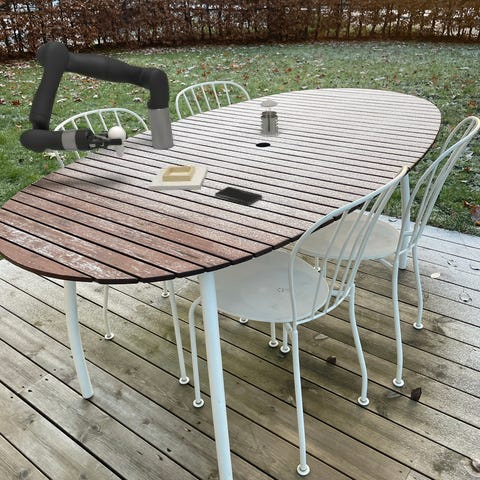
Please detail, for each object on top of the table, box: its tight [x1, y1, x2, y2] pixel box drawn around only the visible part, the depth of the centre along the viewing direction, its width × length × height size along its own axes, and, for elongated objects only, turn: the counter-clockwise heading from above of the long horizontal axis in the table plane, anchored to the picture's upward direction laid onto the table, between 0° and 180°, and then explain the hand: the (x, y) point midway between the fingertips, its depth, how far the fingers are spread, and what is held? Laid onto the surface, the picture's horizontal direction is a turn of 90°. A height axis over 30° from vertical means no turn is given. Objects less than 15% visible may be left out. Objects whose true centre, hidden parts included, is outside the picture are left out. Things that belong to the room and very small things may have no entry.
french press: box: [258, 77, 281, 138], centre depth 212 cm, size 10×12×25 cm
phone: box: [214, 186, 263, 206], centre depth 156 cm, size 8×1×15 cm
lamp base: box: [148, 165, 209, 191], centre depth 172 cm, size 18×18×4 cm
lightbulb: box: [108, 125, 127, 158], centre depth 165 cm, size 6×6×11 cm
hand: (124, 138), depth 165 cm, fingers closed on lightbulb, 6 cm apart
